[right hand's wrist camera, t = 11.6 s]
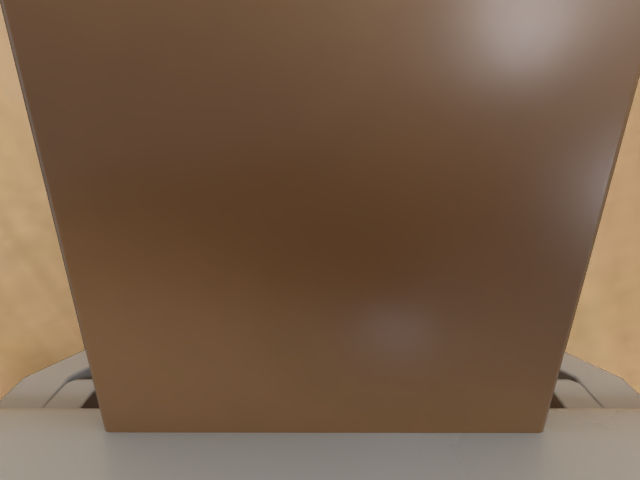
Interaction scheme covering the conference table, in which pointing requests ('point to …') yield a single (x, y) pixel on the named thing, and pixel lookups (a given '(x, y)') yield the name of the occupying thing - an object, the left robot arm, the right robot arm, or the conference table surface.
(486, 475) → the right robot arm
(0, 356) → the conference table surface
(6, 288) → the conference table surface
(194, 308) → the post
